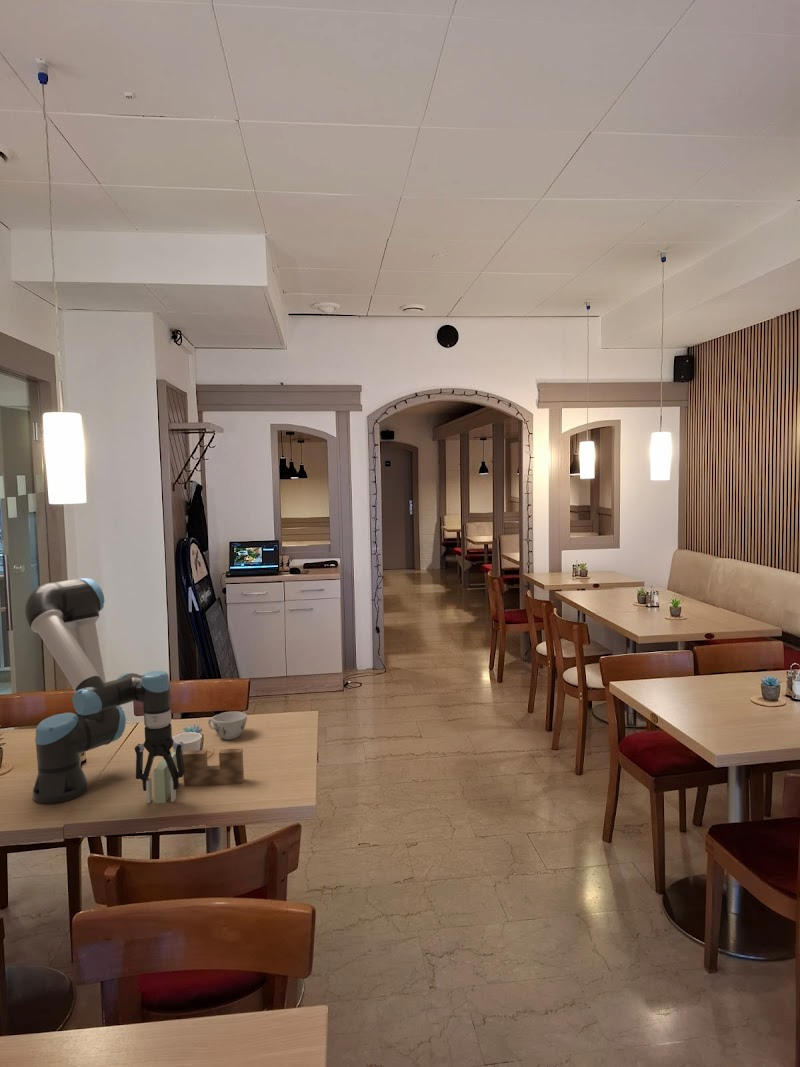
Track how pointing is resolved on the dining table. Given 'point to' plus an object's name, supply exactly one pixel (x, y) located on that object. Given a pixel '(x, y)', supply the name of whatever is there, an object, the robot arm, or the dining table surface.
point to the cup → (188, 741)
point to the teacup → (229, 724)
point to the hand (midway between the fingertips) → (161, 800)
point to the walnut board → (213, 767)
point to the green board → (163, 780)
